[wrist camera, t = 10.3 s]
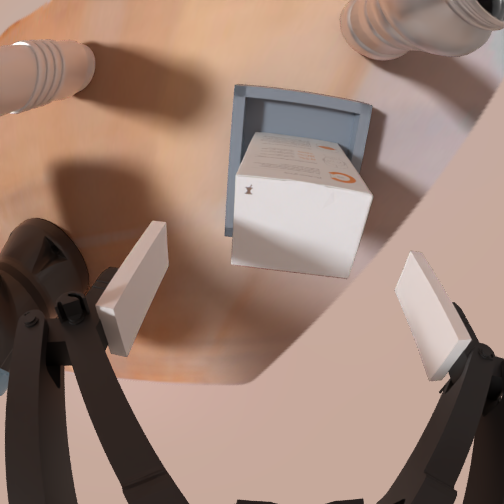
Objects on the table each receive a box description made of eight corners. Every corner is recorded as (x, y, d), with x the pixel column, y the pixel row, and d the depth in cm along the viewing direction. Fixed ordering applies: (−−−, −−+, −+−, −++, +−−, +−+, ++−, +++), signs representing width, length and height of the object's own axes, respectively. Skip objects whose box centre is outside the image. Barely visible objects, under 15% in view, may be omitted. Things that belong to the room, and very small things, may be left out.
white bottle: (44, 65, 25) (-57, 88, 12) (84, 27, 23) (-21, 28, 10) (66, 109, 28) (-34, 148, 15) (108, 73, 26) (3, 92, 13)
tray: (228, 224, 34) (224, 236, 32) (238, 84, 26) (234, 85, 24) (337, 238, 34) (340, 250, 32) (365, 102, 26) (372, 105, 24)
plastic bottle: (408, 61, 23) (561, 75, 6) (341, 62, 24) (442, 50, 7) (396, 1, 19) (530, -55, 3) (328, 1, 21) (397, -99, 4)
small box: (248, 191, 31) (227, 266, 20) (254, 130, 28) (233, 172, 17) (328, 202, 31) (349, 281, 20) (339, 142, 28) (375, 192, 17)
